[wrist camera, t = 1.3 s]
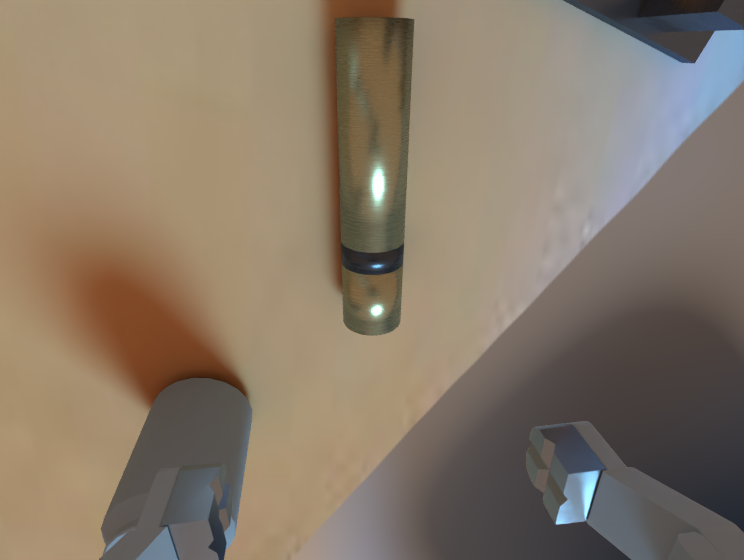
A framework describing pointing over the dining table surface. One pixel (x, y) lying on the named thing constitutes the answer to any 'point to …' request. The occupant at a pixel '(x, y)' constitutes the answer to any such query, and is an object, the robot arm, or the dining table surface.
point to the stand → (669, 21)
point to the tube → (373, 165)
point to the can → (183, 447)
